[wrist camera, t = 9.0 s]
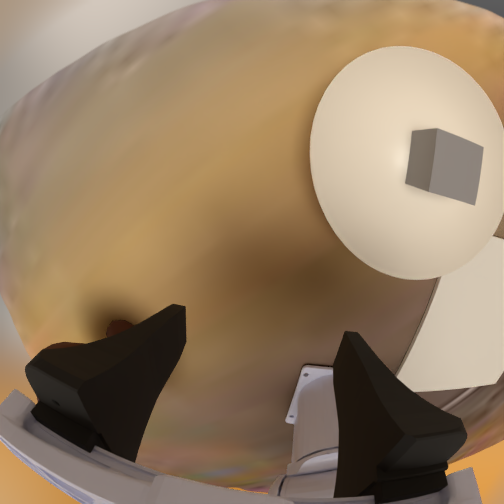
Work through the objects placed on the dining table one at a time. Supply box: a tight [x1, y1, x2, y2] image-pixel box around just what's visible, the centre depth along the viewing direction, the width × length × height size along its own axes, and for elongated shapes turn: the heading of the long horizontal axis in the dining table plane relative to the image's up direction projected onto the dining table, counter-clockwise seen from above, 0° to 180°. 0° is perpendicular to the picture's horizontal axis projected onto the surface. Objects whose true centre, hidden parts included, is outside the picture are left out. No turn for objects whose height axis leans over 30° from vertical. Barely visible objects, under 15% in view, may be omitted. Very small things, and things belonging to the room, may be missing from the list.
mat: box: [395, 236, 504, 392], centre depth 20 cm, size 18×18×1 cm
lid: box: [309, 46, 504, 280], centre depth 11 cm, size 14×14×4 cm
